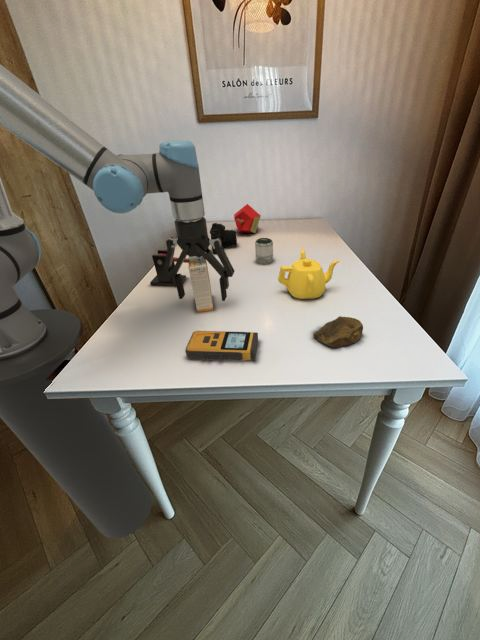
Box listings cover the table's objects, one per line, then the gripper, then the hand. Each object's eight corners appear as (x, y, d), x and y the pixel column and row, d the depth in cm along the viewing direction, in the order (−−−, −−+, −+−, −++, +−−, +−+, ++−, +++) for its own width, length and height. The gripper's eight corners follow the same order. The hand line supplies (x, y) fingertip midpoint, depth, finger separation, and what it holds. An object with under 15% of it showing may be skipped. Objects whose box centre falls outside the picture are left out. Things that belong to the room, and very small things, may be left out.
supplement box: (214, 310, 87) (207, 265, 78) (196, 312, 86) (188, 268, 78) (212, 296, 93) (205, 253, 85) (195, 298, 92) (187, 255, 84)
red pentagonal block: (265, 231, 142) (256, 235, 129) (240, 232, 145) (228, 235, 132) (264, 202, 137) (254, 203, 124) (238, 204, 140) (226, 204, 127)
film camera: (235, 253, 119) (233, 229, 113) (210, 254, 119) (207, 230, 113) (237, 240, 131) (235, 217, 125) (214, 241, 131) (212, 218, 125)
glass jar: (270, 265, 109) (270, 243, 104) (253, 264, 111) (252, 242, 106) (275, 258, 114) (274, 237, 109) (258, 257, 115) (257, 236, 111)
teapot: (337, 290, 94) (341, 258, 87) (310, 307, 86) (312, 274, 80) (300, 277, 101) (302, 247, 95) (273, 292, 94) (273, 260, 88)
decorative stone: (336, 354, 70) (338, 342, 68) (307, 335, 76) (308, 323, 74) (366, 337, 75) (369, 325, 72) (337, 320, 81) (338, 308, 78)
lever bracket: (186, 278, 103) (180, 249, 97) (180, 286, 99) (173, 257, 92) (158, 277, 105) (150, 248, 98) (150, 285, 100) (142, 256, 94)
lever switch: (205, 262, 98) (204, 255, 97) (200, 269, 94) (199, 261, 93) (162, 258, 99) (161, 251, 98) (156, 265, 96) (155, 257, 94)
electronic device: (195, 339, 76) (193, 328, 74) (258, 340, 75) (257, 329, 73) (186, 361, 70) (183, 349, 68) (254, 363, 68) (254, 351, 66)
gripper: (241, 214, 76) (247, 293, 89) (149, 213, 79) (168, 289, 93) (235, 223, 70) (242, 306, 84) (135, 222, 73) (157, 302, 87)
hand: (203, 297), depth 88 cm, fingers open, 12 cm apart
